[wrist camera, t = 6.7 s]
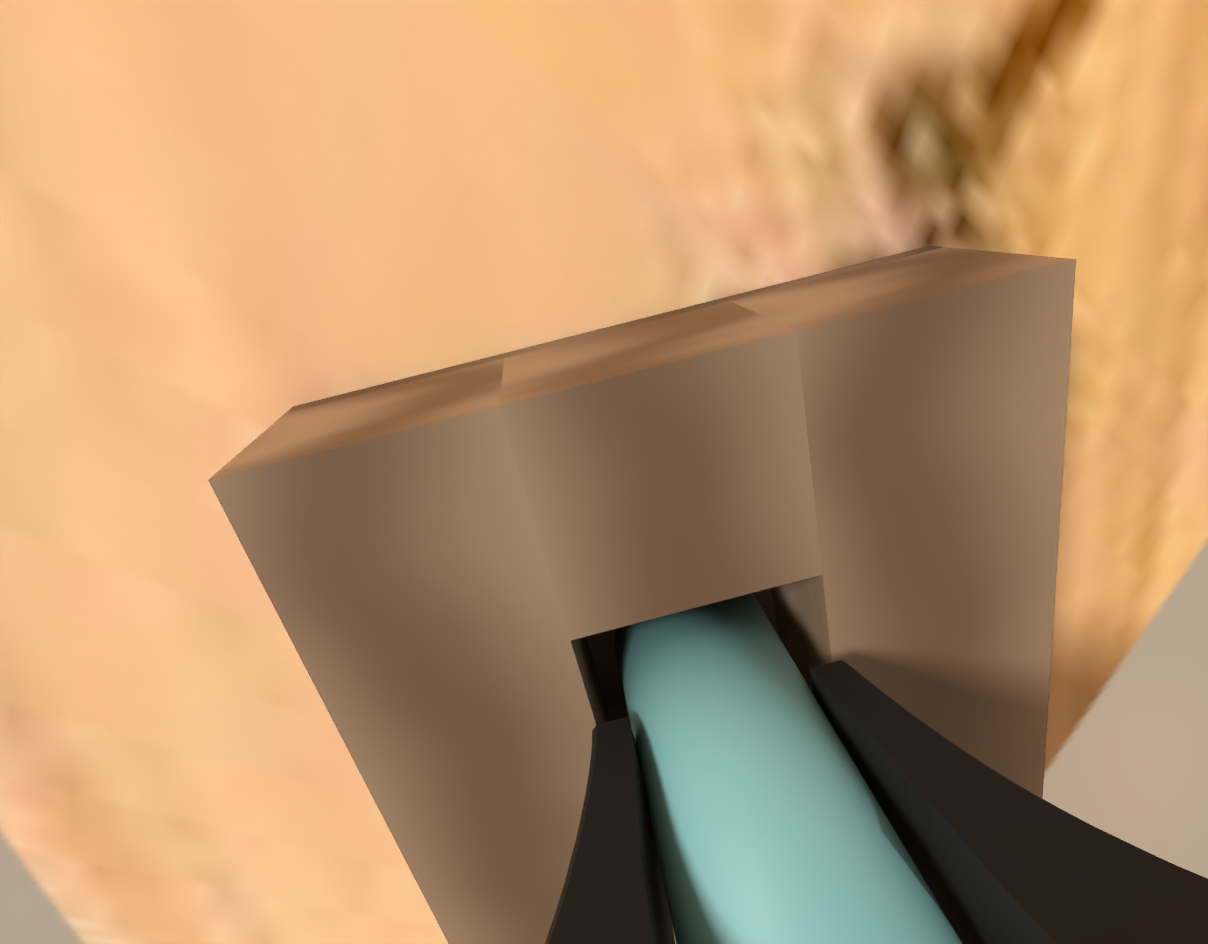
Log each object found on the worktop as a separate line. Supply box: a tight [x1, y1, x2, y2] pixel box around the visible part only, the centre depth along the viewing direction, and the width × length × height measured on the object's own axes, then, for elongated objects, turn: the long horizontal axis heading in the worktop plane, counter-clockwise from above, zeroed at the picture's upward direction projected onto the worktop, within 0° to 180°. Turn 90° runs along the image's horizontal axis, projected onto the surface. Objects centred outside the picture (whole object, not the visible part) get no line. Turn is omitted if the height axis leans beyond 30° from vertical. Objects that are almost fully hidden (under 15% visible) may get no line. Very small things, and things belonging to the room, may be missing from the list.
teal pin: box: [615, 593, 962, 944], centre depth 11 cm, size 4×4×8 cm
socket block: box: [209, 246, 1076, 944], centre depth 15 cm, size 14×14×4 cm
